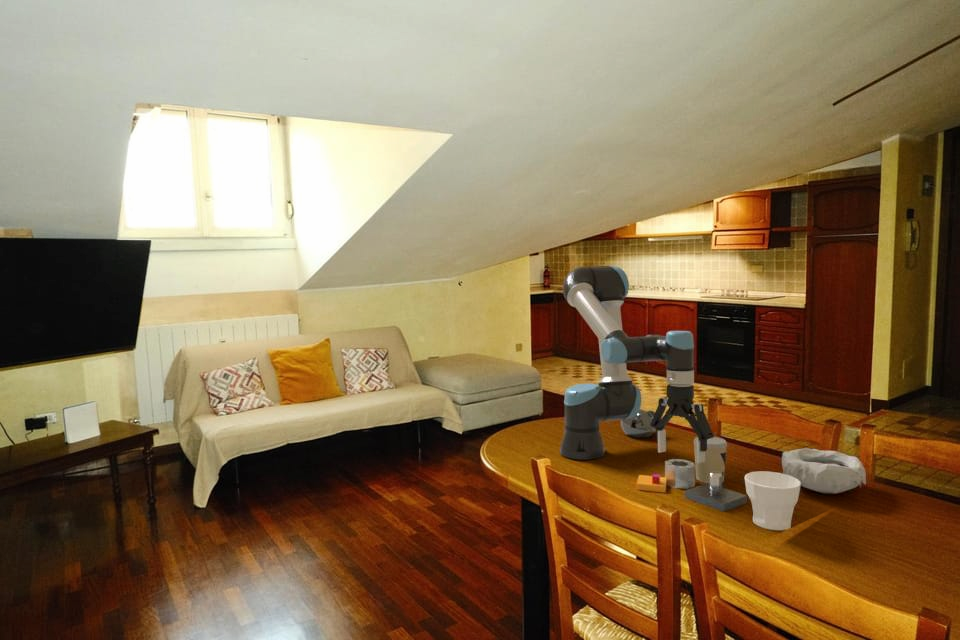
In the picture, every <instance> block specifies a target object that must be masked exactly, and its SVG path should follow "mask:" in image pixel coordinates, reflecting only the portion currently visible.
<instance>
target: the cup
mask: <svg viewBox="0 0 960 640" xmlns="http://www.w3.org/2000/svg"><path fill="white" fill-rule="evenodd" d="M743 479H744V484H745V491H746V494H747V495H748V496H747V497H748V498H749V500H750V502H751V507H752V513H753V514H752V522H753V524H755V525H756V526H758V527H759V528H762V529H766V530H771V531H785V530H789V529H790V528H791V526H792V518H793V514H794V510H795V506H796V505H797V503H798V502H799V496H800V491H801V487H802V486H801V482H800V481H799V480H798V479H797V478H794V477H792V476H790V475H786V474H784V473H783V472H776V471H775V472H774V471H765V470H763V471H762V470H760V471H750V472H749V473H746V474H745V475H744V478H743Z"/></svg>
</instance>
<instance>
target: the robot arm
mask: <svg viewBox="0 0 960 640" xmlns="http://www.w3.org/2000/svg"><path fill="white" fill-rule="evenodd" d="M563 280H564V281H563V283H562V294H563V296H564V298H565V300H566V302H567V303H568V304H569V305H570V306H571V307H573V308H575V309H576V311H578V313H579V315H580V316H581V317H582V318H583V320H584V321H585V323H587V325H588V326H589V328H590V329H591V330H592V332H593V333H594V334H595V336H596V337H597V339H598V345H599V346H598V348H599V357H600V368H601V378H600V380H599V381H598V384H596V383H592V382H590V383H577V384H574V385H571V386H570V387H567V389H566V390H564V391H565V392H564V400H563V404H564V433H563V437H562V440H561V444H560V446H559V454H560V455H561V456H563V457H565V458H568V459H572V460H595V459H601V457H603V456H605V453H606V452H605V451H606V450H605V448H606V447H605V445H604V442H603V439H602V436H601V432H600V423H601V422H609V421H619V420H620V421H621V420H625V419H628V418H633V417H635V416H636V415H637V414H638V412H639V410H640V409H641V406H642V400H643V399H642V394H641V390H640V388H639V387H638V386H637V385H635V384H634V383H633V379H632V377H630V376H629V375H628V370H627V364H629V363H640V362H641V363H643V362H654V361H655V362H656V361H657V362H658V361H660V362H665V363H666V383H667V385H666V397H660V398H658V403H657V408H656V409H655V411H654V412H655V414H654V416H653V419H652V421H651V424H650V426H651V427H654V428H655V435H656V436H655V439H656V441H657V453H664V452H666V451H667V435H666V434H667V431H666V429H665V427H666V425H667V424H668V423H669V422H670V421H671V420H672V418H673V417H680V418H684V419H685V420H686V421H687V422H688V424H689V425H690V427H691V428H692V430H693V432H694V433H695V435H696V437H698V438H699V439H698V440H696V444H697V463H701V462H705V451H707V439H710V438H713V437H715V436H714V433H713V431H712V428H711V426H710V423H709V421H708V419H707V416H706V414H705V412H704V403H694V397H695V386H694V385H693V384H694V383H695V370H694V369H695V368H694V366H695V363H694V362H695V357H694V356H695V353H694V352H695V343H694V342H695V341H694V334H693V333H692V332H691V331H688V330H670V331H667V332H666V335H665V336H664V335H659V334H647V335H645V336H631V337H630V336H628V335H627V333H626V332H625V331H624V330H623V323H622V313H621V306H622V305H623V304H624V302H625V300H624V299H625V298H626V297H627V296H628V295H629V290H630V282H629V279H628V275H627V274H626V272H625V271H624V270H623V269H622V268H621V267H619V266H611V265H601V266H579V267H576V268H573V269H571V271H569V272H568V273H567V275H566V276H565V278H564V279H563ZM667 407H668V409H667V410H666V408H667ZM665 411H666V412H665ZM664 413H665V414H664Z"/></svg>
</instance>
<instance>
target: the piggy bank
mask: <svg viewBox="0 0 960 640" xmlns="http://www.w3.org/2000/svg"><path fill="white" fill-rule="evenodd" d="M655 412H656V411H654V410H644V409H642V408H640V410H639V412H638V414H637V415H636V416H635V417H633V418H628V419H625V420H620V425H621V429H622V431H623V432H624V434H625V436H629V437H633V438H634V439H636V438H637V439H642V438H643V439H644V438H649V437H650V436H651V435H653V433H656V429H655V428H654V427H651V426H650V424H651V421H652V419H653V416H654V414H655Z"/></svg>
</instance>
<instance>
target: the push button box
mask: <svg viewBox="0 0 960 640" xmlns="http://www.w3.org/2000/svg"><path fill="white" fill-rule="evenodd" d="M635 484H636V486H635V487H636V488H635V489H636V490H637V491H646V492H656V493H667V492H666V490H667V488H668V487H667V486H668V485H667V479H666V477H665V476H663V477H662V476H661V475H660V474H652V475H644V474H642V475H641V474H639V475H638V477H637V481H636V483H635Z"/></svg>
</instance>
